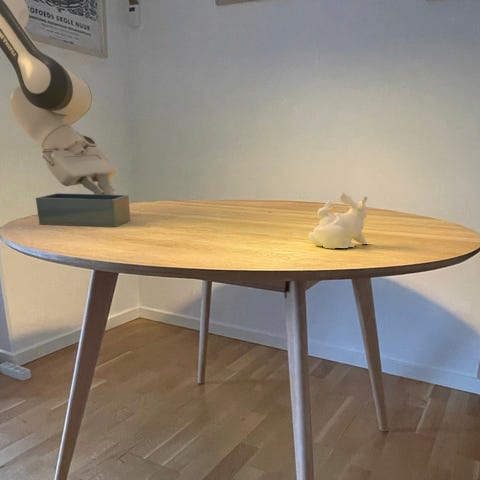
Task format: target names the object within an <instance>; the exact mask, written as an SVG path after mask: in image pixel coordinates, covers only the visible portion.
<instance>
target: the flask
mask: <svg viewBox="0 0 480 480" xmlns="http://www.w3.org/2000/svg"><path fill="white" fill-rule="evenodd" d="M96 175H97V177H98V182H97V185H98V186H101V187H102V189H104V191H105V192H104V194H103V195H114V192H112V190H111V186H110V183H111V181H110V180H109V176H110V173H108V172H98V173H96ZM109 181H110V182H109Z"/></svg>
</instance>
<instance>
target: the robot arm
mask: <svg viewBox="0 0 480 480" xmlns="http://www.w3.org/2000/svg"><path fill="white" fill-rule="evenodd" d="M29 17H30V9H29V7H28V5H27V3H26V1H25V0H0V49H1V50H2V52H3V54H4V55H5V57H6V58H7V60H8V62H9V63H10V64H11V66H12V67H13V69H14V71H15V73H16V77H17V80H18V83H19V85H17V87H16V88H15V89H13V91H12V92H11V94H10V97H9V100H8V106H9V110H10V112H11V114H12V116H13V118H14V119H15V121H16V122H17V123H18V125H19V127H20V128H22V130H23V131H24V132H25V133H26V134H27V136H28V137H30V138H31V139H32V140H34V141H35V142H36V143H38V145H39V147H40V149H41V157H42V159H43V160H44V161H45V165H46V167H47V168H48V170H49V171H50V173H52V175H53V176H54V177H55V179H56V180H57V181H58V183H60V184H61V185H63V186H65V187H71V186H80V185H82V186H83V187H84V188H86V189H87V190H88V191H91V192H92V194H102V195H103V194H104V192H105V191H104V189H102V187H101V186H98V177H97V175H96V173H98V172H108V173H110V176H109V182H110V186H111V190H112V192H113V193H114V192H115V190H116V189H115V187H114V186H113V185H112V183H111V181H110V180H112V178H113V177H114V176H115V175H116V174H117V172H118V169H117V167H116V165H115V164H114V163H113V162H112V161H111V159H110V158H109V157H108V156H107V154H106V153H105V152H104V151H103V150H102V149H101V148H99V147H97V146H98V143H97V141H96V140H95V139H94V138H93V137H90V136H87V135H84V134H82V133H80V132H79V131H76V130H75V129H74V127H73V126H72V125H73V124H75V123H76V122H77V121H79V120H80V119H81V118H83V116H84V115H85V114H87V113H88V111H89V110H90V109H91V105H92V101H93V97H92V95H93V94H92V91H91V87H90V86H89V84H88V83H87V82H86V81H85V80H84V78H82V77H80V76H78V75H77V74H75V72H72V71H70V70H69V69H68V68H66V67H65V66H63V65H62V64H60V63H59V62H58V61H56V59H54V58H52V57H51V56H49V55H47V54H45V53H43V52H42V51H41V50H40V49H39V48H38V46H37V45H36V44H35V42H34V41H33V39H32V38H31V36H30V35H29V34H28V32H27V31H26V29H25V28H26V27H27V25H28V23H29Z"/></svg>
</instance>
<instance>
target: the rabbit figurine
mask: <svg viewBox="0 0 480 480" xmlns="http://www.w3.org/2000/svg"><path fill="white" fill-rule="evenodd" d="M338 199H339V200H338V201H339V202H341V203H342V204H344V205H347V206H348V207H349V210H348V211H347V212H344V213H343V212H342V213H341V212H338V211H337V212H335V213H334V214H332V213H329V210H331V209H334V207H335V204H334V203H332V200H331V199H329V200H327V202H326V203H325V204H324V206H323V207H320V208H319V209H318V210H317V215H316V216H317V218H319V219H320V220H319V222H318V225H317V226H314V229H313V231H311V232H309V233H308V240H309V241H310V242H311V243H312V244H313V245H315V246H317V247H322V246H323V247H322V248H325V249H335V248H348V247H353V248H355V247H354V246H356V244H355V243H354V242H352V240H354V241H355V242H357V243H359V244H360V243H362V244H367V243H371V242H370V241H367V240H366V237H365V236H364V234H363V230H364V226H365V223H364V220H365V219H366V217H367V211H366V208H367V207H366V202H367V201H368V196H363V197H362V199H361V200H359V201H355V200H354V199H353V198H352V197H351V196H350V195H348V194H346V193H345V192H344V191H343V192H341V193H340V195H339V198H338ZM362 244H361V245H362ZM356 247H357V246H356ZM348 249H349V248H348Z"/></svg>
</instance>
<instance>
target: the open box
mask: <svg viewBox="0 0 480 480" xmlns="http://www.w3.org/2000/svg"><path fill="white" fill-rule="evenodd" d="M35 202H36V203H35V204H36V211H37V218H38V224H39V225H47V226H73V227H74V226H75V227H103V228H104V227H105V228H117V227H119V226H121V225H123V224H125V223H128V222H129V221H131V211H130V209H131V208H130V197H129V195H128V194H113V195H102V194H94V193H62V192H59V193H58V192H55V193H52V194H51V193H50V194H46V195H43V196H37V197H35Z"/></svg>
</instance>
